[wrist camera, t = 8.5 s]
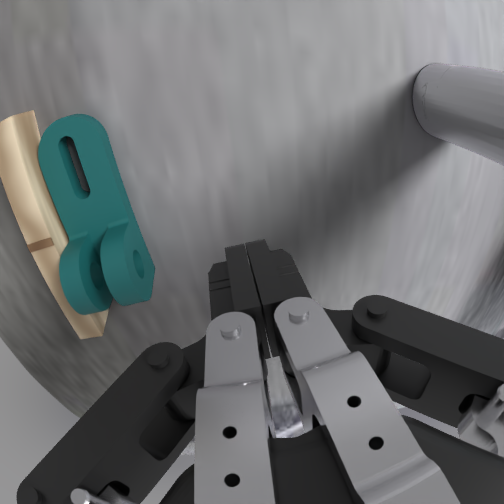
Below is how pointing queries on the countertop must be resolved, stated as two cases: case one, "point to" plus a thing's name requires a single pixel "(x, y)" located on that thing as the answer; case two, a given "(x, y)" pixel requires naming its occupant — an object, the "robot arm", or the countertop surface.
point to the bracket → (94, 219)
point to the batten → (39, 212)
